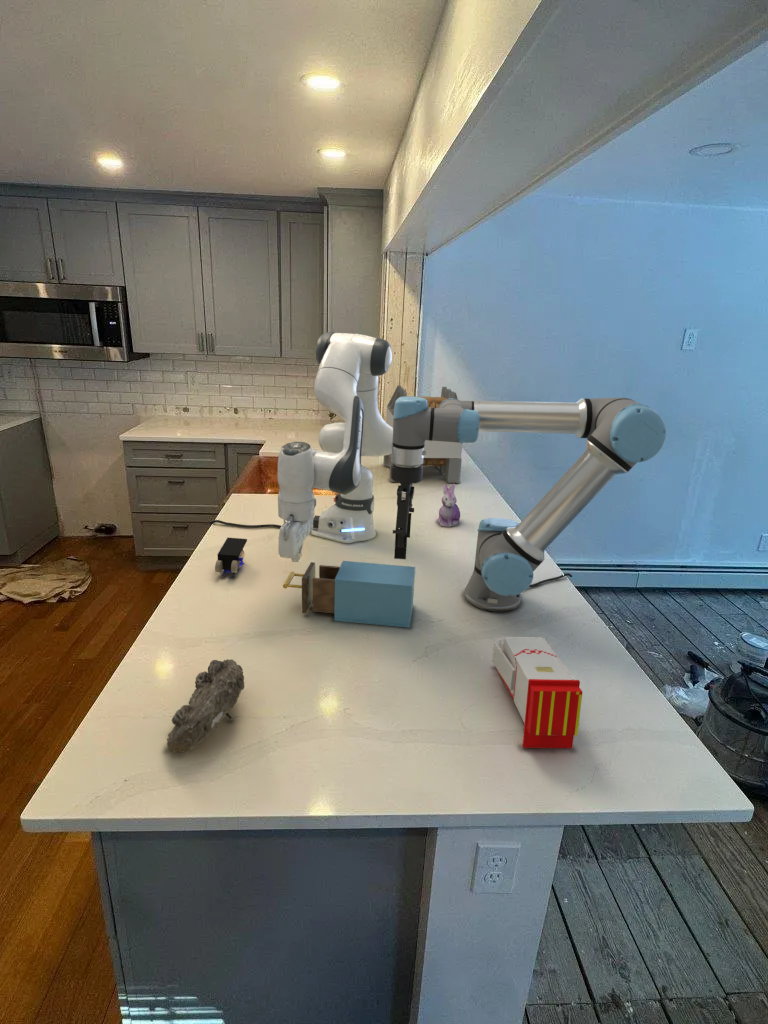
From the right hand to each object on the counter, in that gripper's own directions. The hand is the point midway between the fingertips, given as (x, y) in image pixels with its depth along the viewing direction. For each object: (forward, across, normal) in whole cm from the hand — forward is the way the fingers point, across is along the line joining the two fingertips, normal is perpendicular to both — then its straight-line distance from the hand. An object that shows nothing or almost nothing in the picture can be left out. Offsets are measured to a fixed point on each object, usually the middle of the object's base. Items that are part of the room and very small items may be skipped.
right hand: (402, 547), depth 140 cm
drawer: (+18, 0, +18) cm, 26 cm away
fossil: (+19, -44, +32) cm, 58 cm away
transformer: (+19, +137, +2) cm, 138 cm away
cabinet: (+19, 0, +6) cm, 20 cm away
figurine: (+19, +71, -12) cm, 75 cm away
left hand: (+6, 0, +27) cm, 27 cm away
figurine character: (+19, +17, +51) cm, 57 cm away
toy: (+19, -29, -29) cm, 46 cm away
